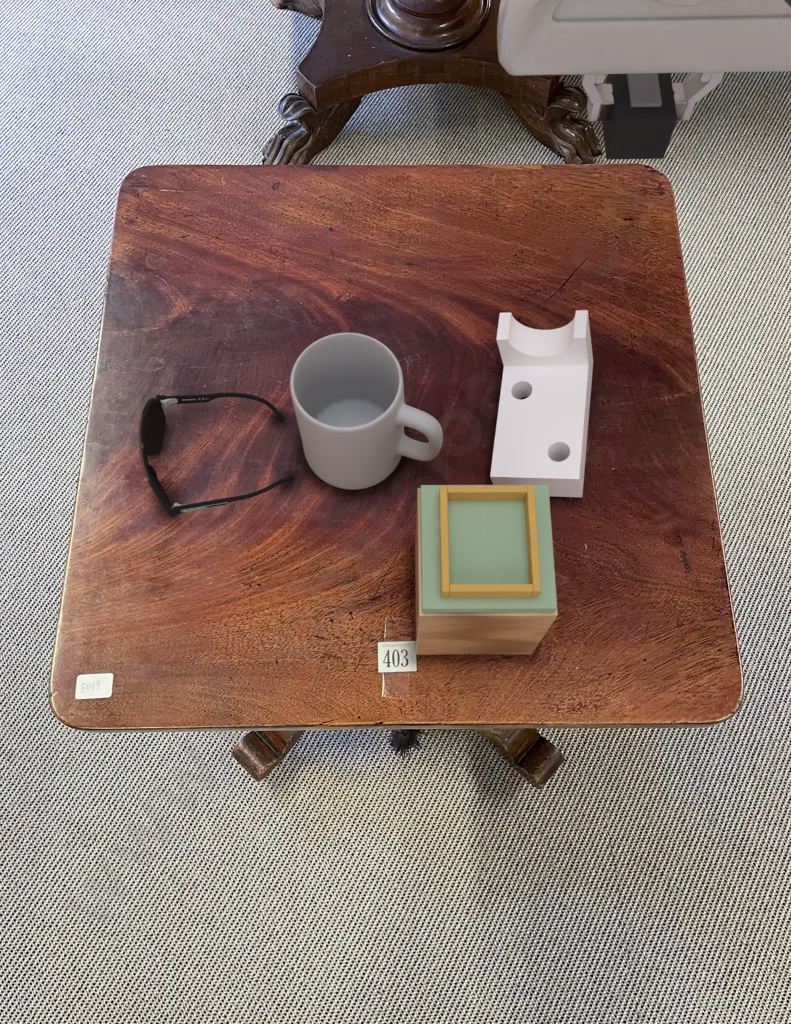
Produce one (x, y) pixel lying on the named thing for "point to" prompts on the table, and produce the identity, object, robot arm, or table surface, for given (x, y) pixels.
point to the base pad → (487, 549)
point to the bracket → (543, 405)
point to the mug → (356, 411)
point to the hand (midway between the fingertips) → (636, 114)
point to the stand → (474, 623)
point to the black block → (640, 116)
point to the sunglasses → (153, 439)
